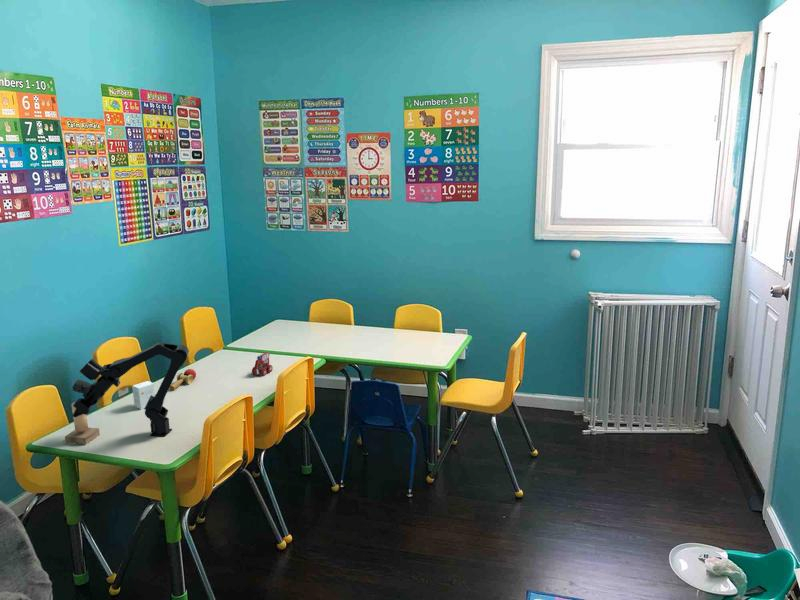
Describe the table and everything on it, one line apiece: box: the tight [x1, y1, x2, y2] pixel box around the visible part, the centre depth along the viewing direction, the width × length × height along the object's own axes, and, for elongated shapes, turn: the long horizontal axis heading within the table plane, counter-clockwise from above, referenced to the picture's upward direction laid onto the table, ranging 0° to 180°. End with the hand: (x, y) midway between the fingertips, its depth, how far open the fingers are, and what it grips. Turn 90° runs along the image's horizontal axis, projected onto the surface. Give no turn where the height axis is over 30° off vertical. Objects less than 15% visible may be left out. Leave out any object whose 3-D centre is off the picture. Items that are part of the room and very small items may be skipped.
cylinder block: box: [70, 401, 89, 432], centre depth 256 cm, size 5×5×11 cm
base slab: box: [64, 427, 101, 445], centre depth 258 cm, size 9×9×3 cm
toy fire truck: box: [251, 351, 273, 377], centre depth 331 cm, size 7×12×10 cm, turn 157°
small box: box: [132, 380, 156, 410], centre depth 291 cm, size 8×6×10 cm
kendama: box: [169, 368, 197, 392], centre depth 317 cm, size 8×6×18 cm
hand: (76, 413), depth 256 cm, fingers closed on cylinder block, 5 cm apart
